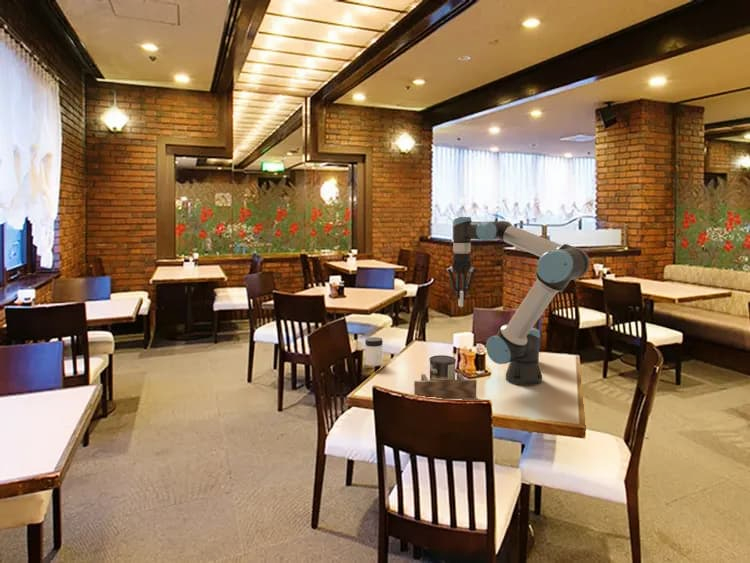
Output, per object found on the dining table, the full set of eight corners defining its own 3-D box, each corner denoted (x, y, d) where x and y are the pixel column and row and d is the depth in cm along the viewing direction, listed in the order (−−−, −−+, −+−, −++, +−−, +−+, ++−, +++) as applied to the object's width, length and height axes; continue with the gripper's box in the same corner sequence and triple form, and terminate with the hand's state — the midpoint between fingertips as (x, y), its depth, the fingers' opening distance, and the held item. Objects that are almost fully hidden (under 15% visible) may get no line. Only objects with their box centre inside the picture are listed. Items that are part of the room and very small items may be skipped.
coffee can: (435, 398, 204) (435, 363, 203) (425, 390, 214) (425, 356, 212) (459, 396, 207) (460, 361, 205) (448, 387, 217) (449, 354, 215)
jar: (370, 367, 246) (370, 342, 244) (361, 363, 252) (361, 338, 251) (386, 364, 250) (386, 339, 249) (377, 360, 257) (377, 336, 256)
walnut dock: (469, 389, 215) (470, 372, 214) (476, 397, 205) (476, 380, 204) (411, 391, 213) (411, 374, 212) (414, 399, 203) (415, 382, 202)
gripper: (474, 251, 234) (473, 304, 237) (445, 252, 233) (444, 304, 236) (478, 253, 226) (477, 307, 229) (448, 253, 225) (448, 308, 228)
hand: (460, 306), depth 232 cm, fingers closed
